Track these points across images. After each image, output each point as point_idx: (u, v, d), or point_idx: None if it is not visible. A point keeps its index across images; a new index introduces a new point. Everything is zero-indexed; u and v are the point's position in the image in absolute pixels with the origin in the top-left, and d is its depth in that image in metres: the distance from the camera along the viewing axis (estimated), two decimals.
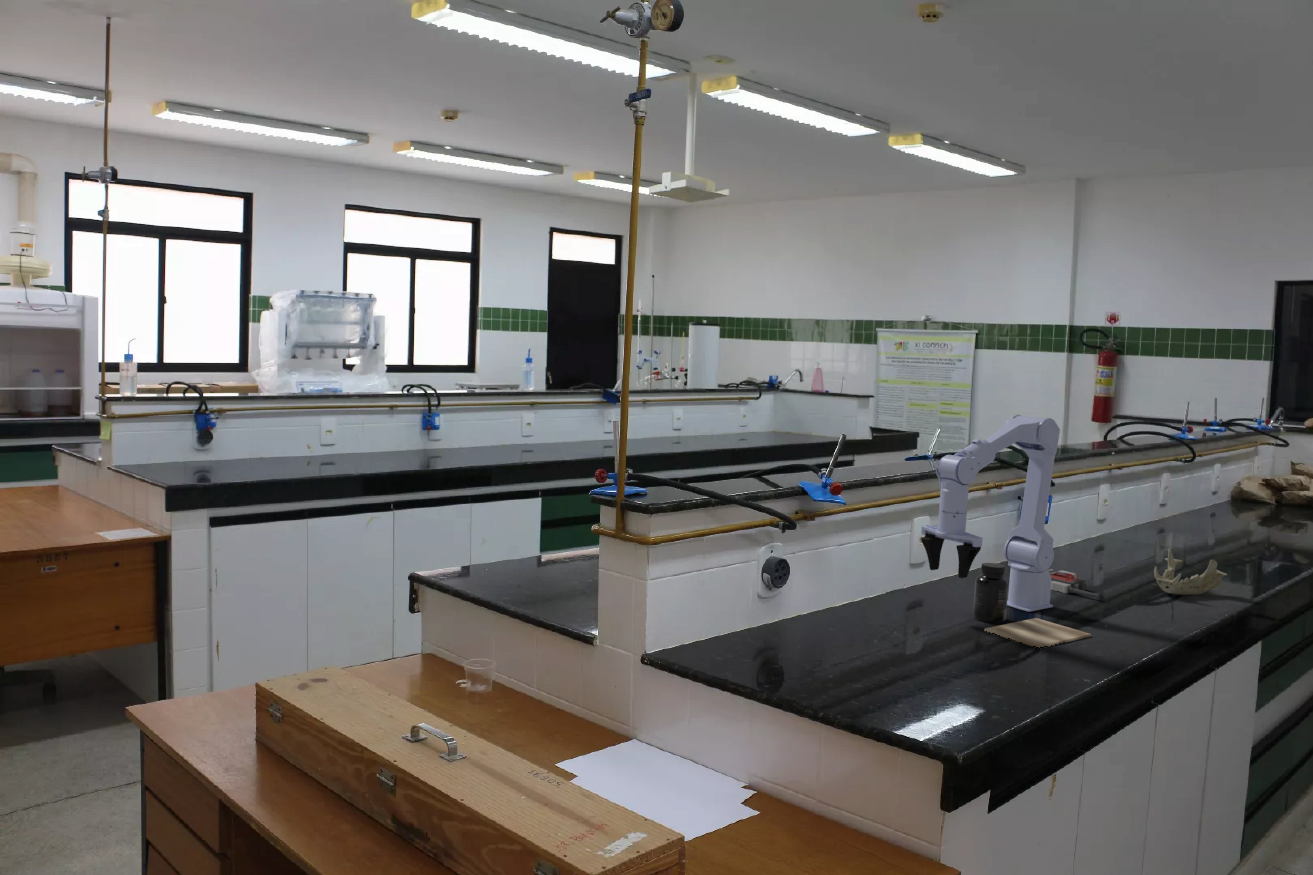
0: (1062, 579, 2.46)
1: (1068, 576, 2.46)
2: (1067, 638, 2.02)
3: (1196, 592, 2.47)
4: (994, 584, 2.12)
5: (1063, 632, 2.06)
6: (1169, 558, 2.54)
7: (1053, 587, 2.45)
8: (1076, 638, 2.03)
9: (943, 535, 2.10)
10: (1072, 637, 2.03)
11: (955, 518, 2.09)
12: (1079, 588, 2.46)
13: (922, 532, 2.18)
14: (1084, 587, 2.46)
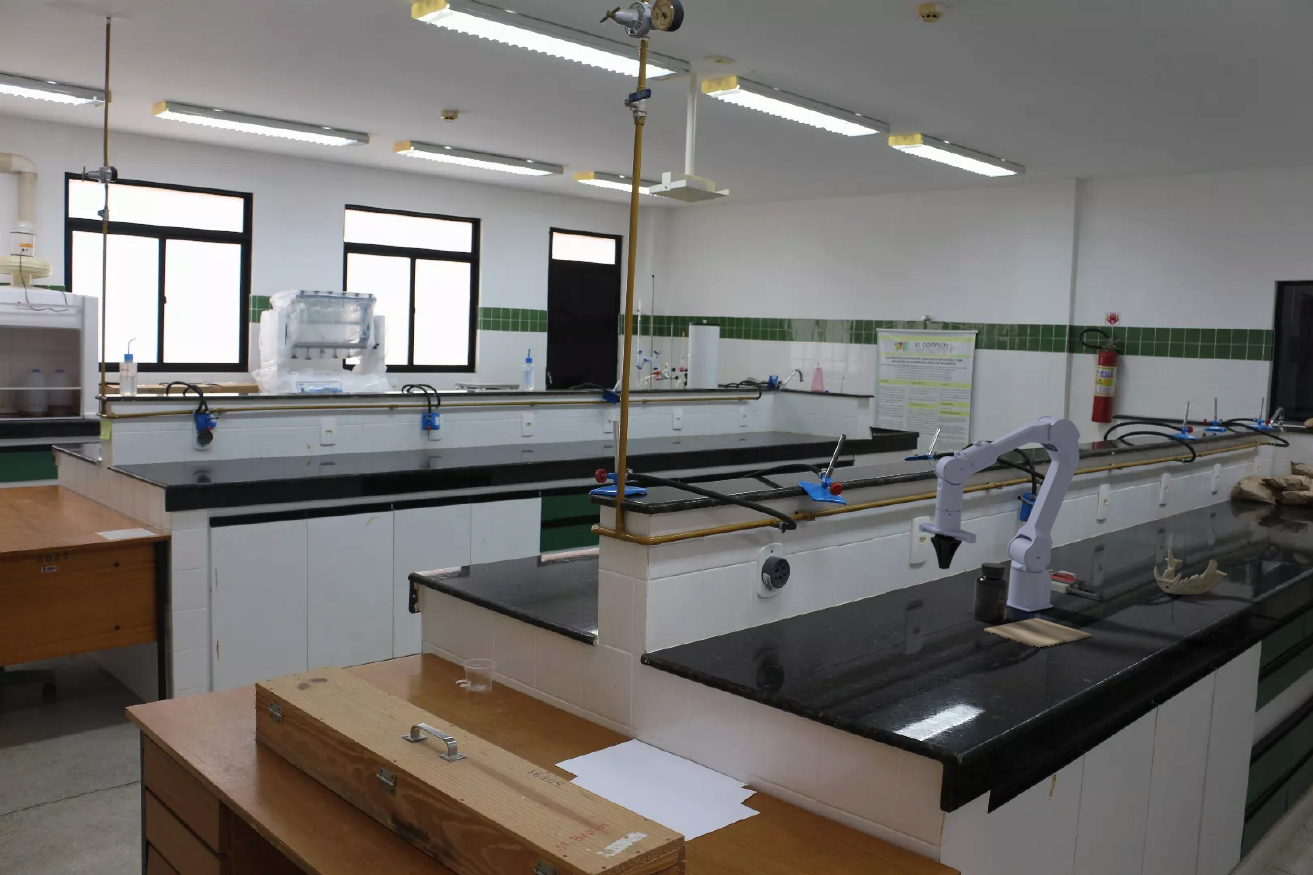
0: (1061, 579, 2.46)
1: (1068, 576, 2.46)
2: (1067, 638, 2.02)
3: (1196, 592, 2.47)
4: (994, 584, 2.12)
5: (1063, 632, 2.06)
6: (1169, 558, 2.54)
7: (1052, 588, 2.45)
8: (1076, 638, 2.03)
9: (939, 532, 2.22)
10: (1072, 637, 2.03)
11: (950, 516, 2.22)
12: (1079, 588, 2.46)
13: (919, 529, 2.30)
14: (1084, 587, 2.46)
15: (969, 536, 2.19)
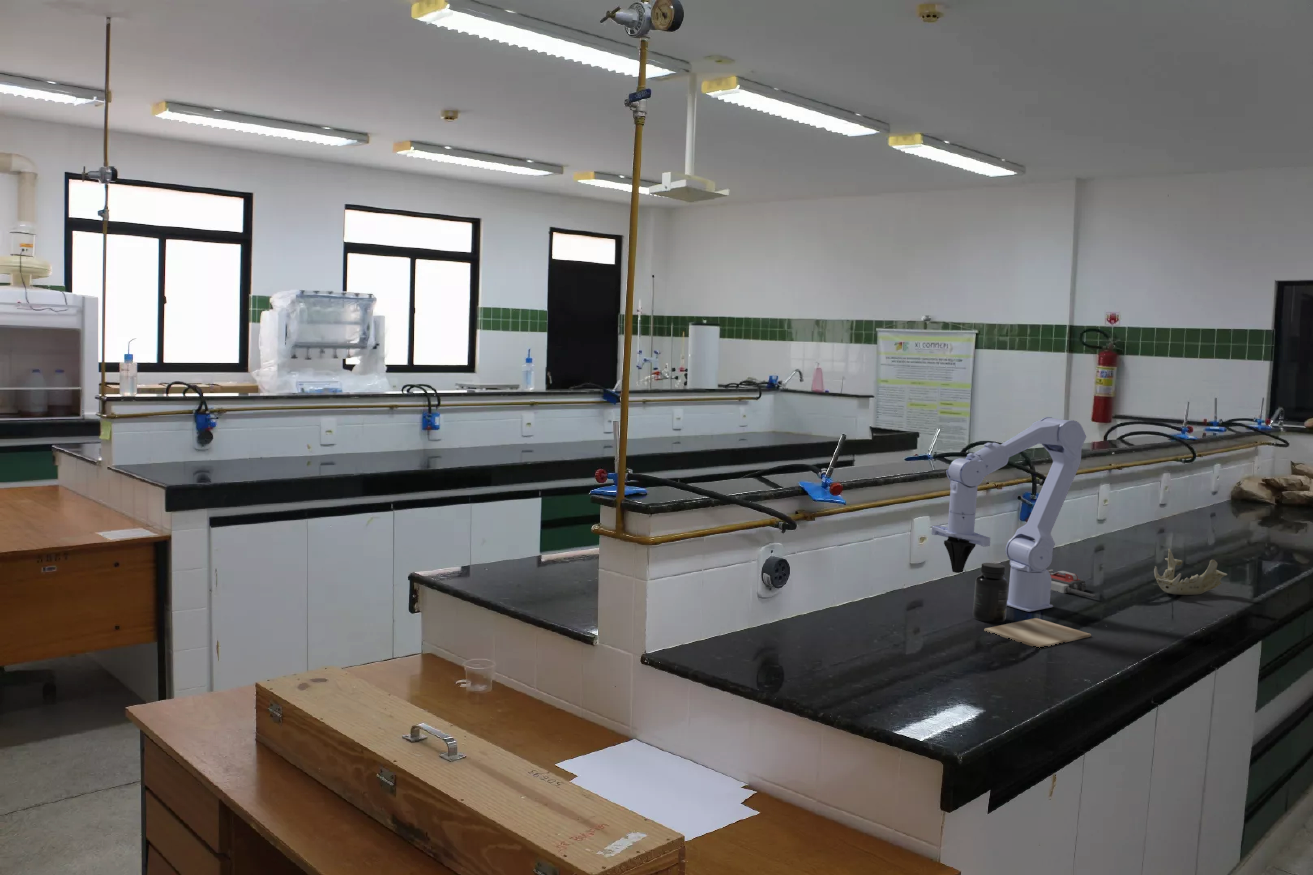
0: (1061, 579, 2.46)
1: (1067, 576, 2.46)
2: (1067, 638, 2.02)
3: (1196, 592, 2.47)
4: (994, 584, 2.12)
5: (1063, 632, 2.06)
6: (1169, 558, 2.54)
7: (1052, 587, 2.46)
8: (1076, 638, 2.03)
9: (952, 535, 2.19)
10: (1072, 637, 2.03)
11: (964, 519, 2.19)
12: (1078, 589, 2.46)
13: (932, 532, 2.27)
14: (1083, 588, 2.46)
15: (983, 539, 2.16)
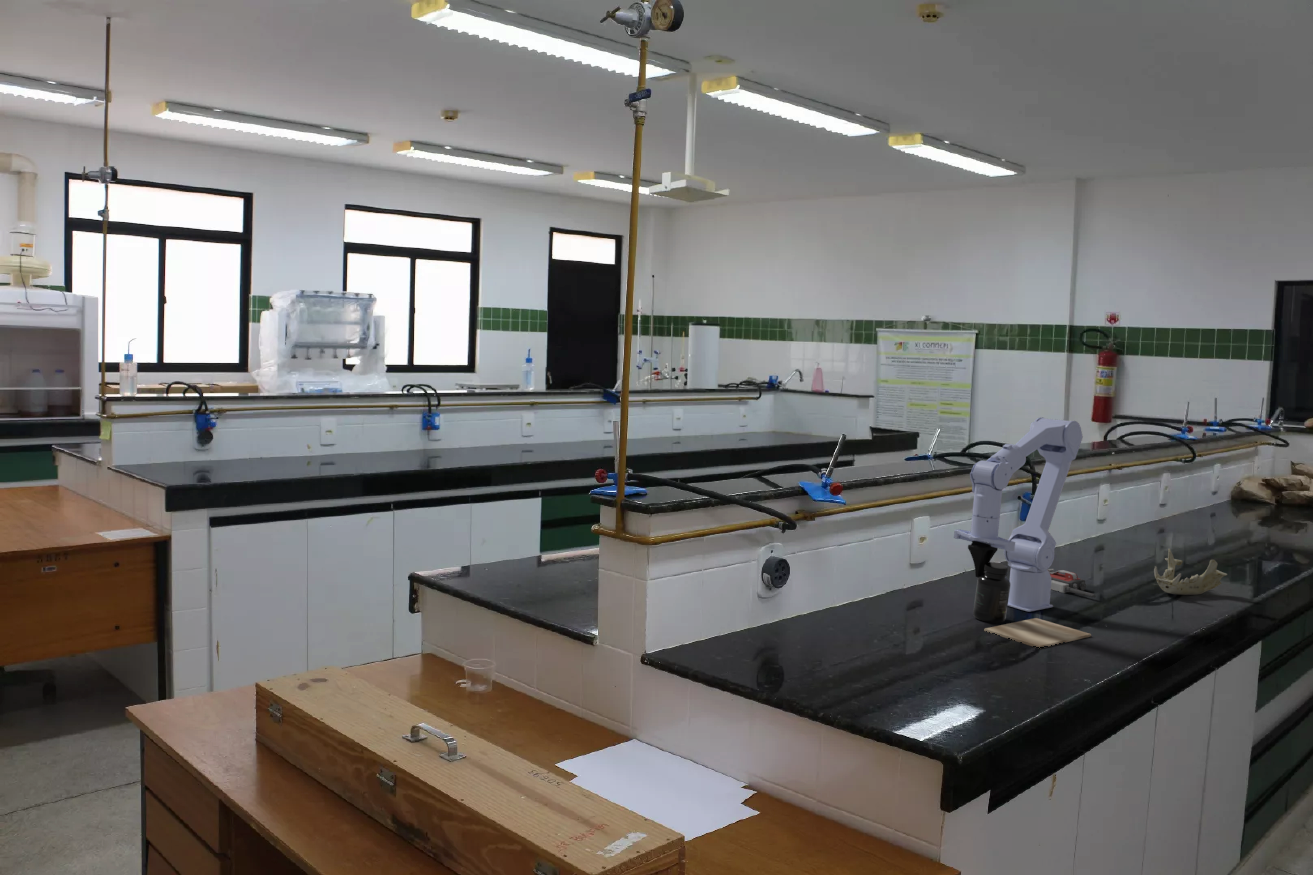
0: (1061, 579, 2.47)
1: (1067, 576, 2.47)
2: (1067, 638, 2.02)
3: (1196, 592, 2.47)
4: (996, 585, 2.11)
5: (1063, 632, 2.06)
6: (1169, 558, 2.54)
7: (1051, 587, 2.46)
8: (1076, 638, 2.03)
9: (976, 539, 2.14)
10: (1072, 637, 2.03)
11: (988, 522, 2.13)
12: (1078, 588, 2.46)
13: (955, 536, 2.22)
14: (1083, 587, 2.46)
15: (1008, 544, 2.10)
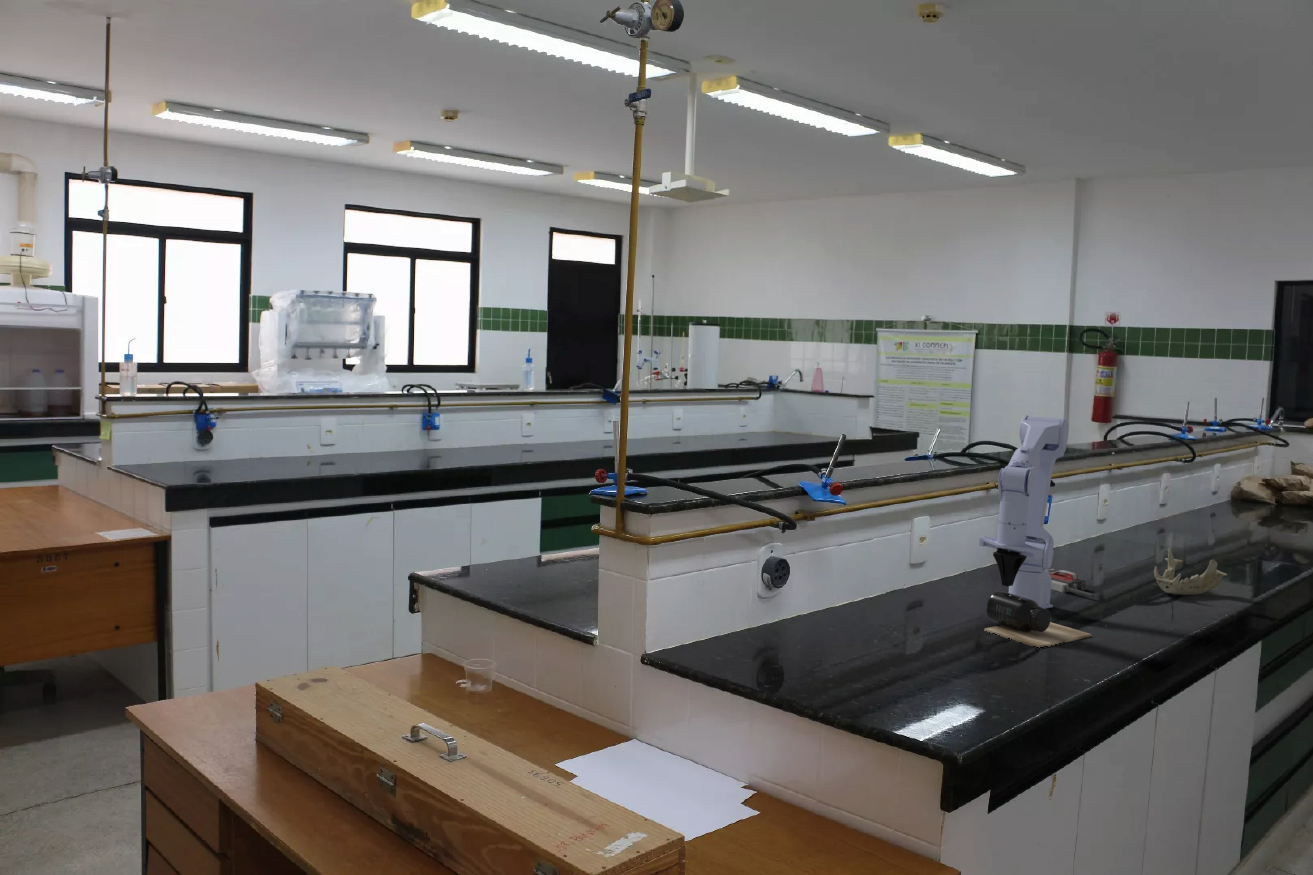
0: (1061, 578, 2.47)
1: (1067, 576, 2.47)
2: (1067, 638, 2.02)
3: (1196, 592, 2.47)
4: (1026, 631, 2.05)
5: (1063, 632, 2.06)
6: (1169, 558, 2.54)
7: (1051, 586, 2.46)
8: (1076, 638, 2.03)
9: (1003, 547, 2.08)
10: (1072, 637, 2.03)
11: (1015, 530, 2.08)
12: (1078, 588, 2.46)
13: (980, 543, 2.16)
14: (1083, 587, 2.46)
15: (1036, 551, 2.05)
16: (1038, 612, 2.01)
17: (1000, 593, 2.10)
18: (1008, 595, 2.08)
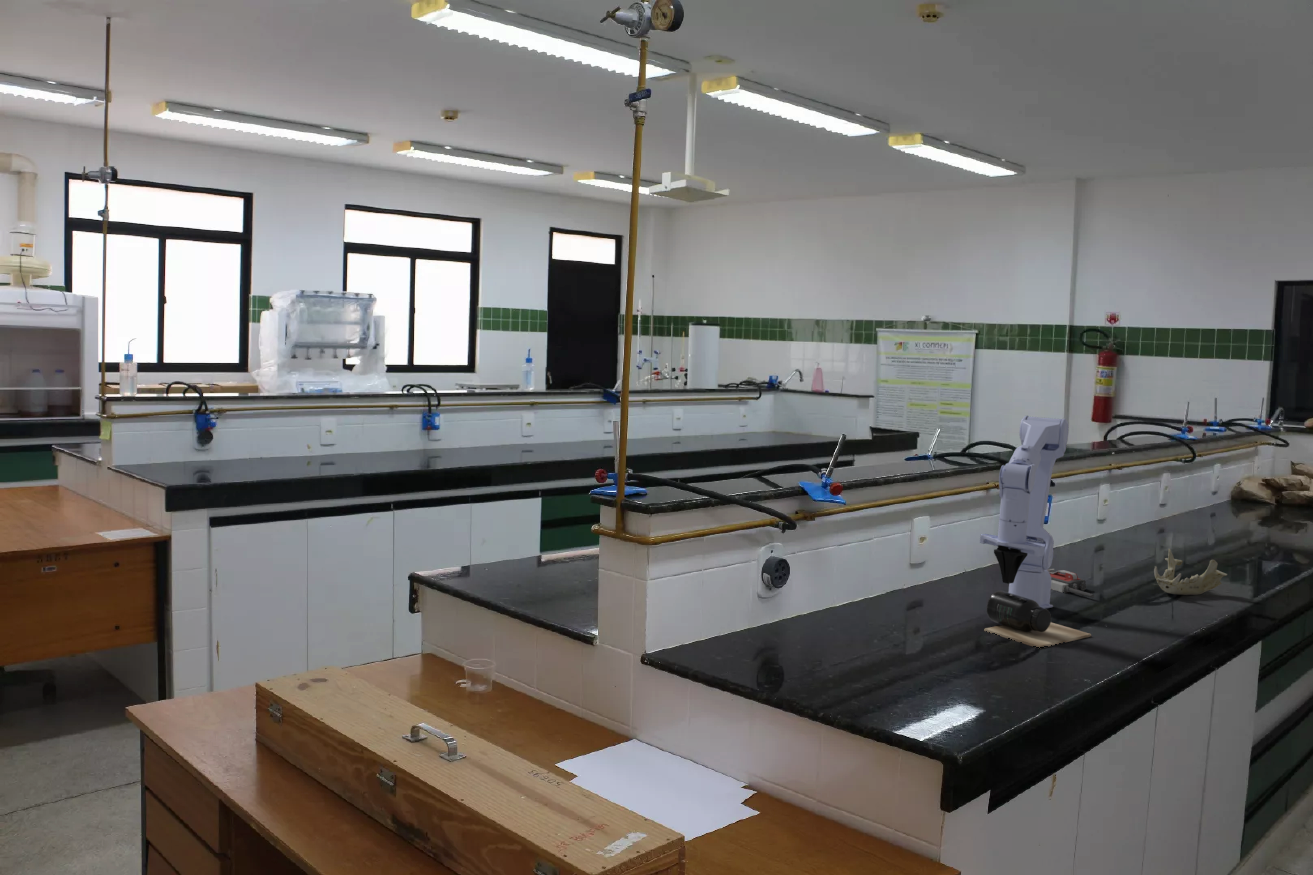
0: (1061, 579, 2.47)
1: (1067, 576, 2.47)
2: (1067, 638, 2.02)
3: (1196, 592, 2.47)
4: (1026, 631, 2.05)
5: (1063, 632, 2.06)
6: (1169, 558, 2.54)
7: (1051, 586, 2.46)
8: (1076, 638, 2.03)
9: (1004, 544, 2.08)
10: (1072, 637, 2.03)
11: (1016, 527, 2.08)
12: (1078, 588, 2.46)
13: (981, 541, 2.16)
14: (1083, 587, 2.46)
15: (1037, 549, 2.05)
16: (1039, 612, 2.01)
17: (1001, 592, 2.10)
18: (1009, 595, 2.08)
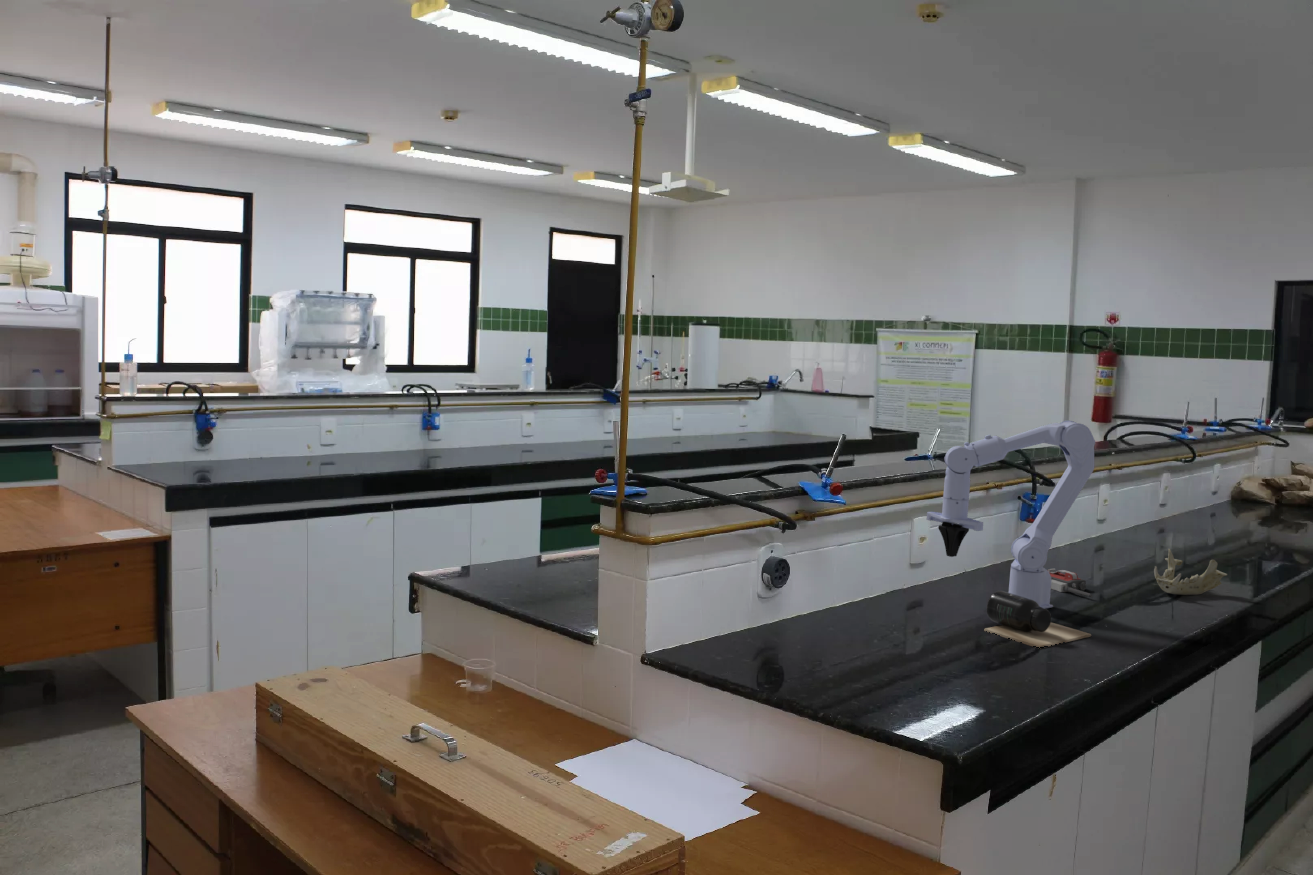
0: (1060, 578, 2.47)
1: (1067, 575, 2.47)
2: (1067, 638, 2.02)
3: (1196, 592, 2.47)
4: (1026, 631, 2.05)
5: (1063, 632, 2.06)
6: (1169, 558, 2.54)
7: None
8: (1076, 638, 2.03)
9: (947, 520, 2.26)
10: (1072, 637, 2.03)
11: (958, 504, 2.26)
12: (1078, 588, 2.46)
13: (927, 518, 2.34)
14: (1083, 587, 2.46)
15: (976, 524, 2.23)
16: (1039, 612, 2.01)
17: (1001, 592, 2.10)
18: (1009, 595, 2.08)
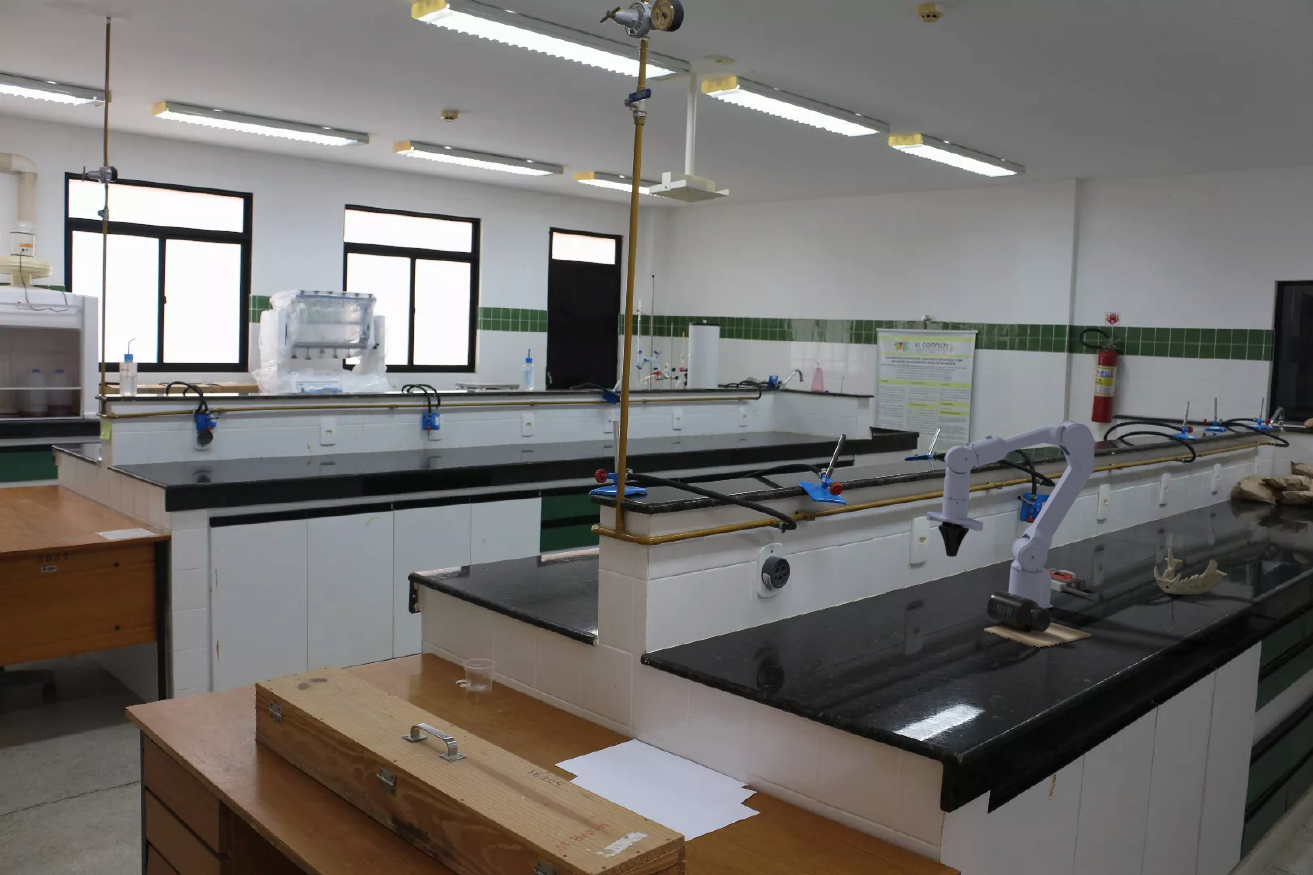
0: (1060, 578, 2.47)
1: (1066, 575, 2.47)
2: (1067, 638, 2.02)
3: (1196, 592, 2.47)
4: (1026, 631, 2.05)
5: (1063, 632, 2.06)
6: (1169, 558, 2.54)
7: None
8: (1076, 638, 2.03)
9: (947, 520, 2.26)
10: (1072, 637, 2.03)
11: (958, 504, 2.26)
12: (1077, 588, 2.46)
13: (927, 518, 2.34)
14: (1083, 587, 2.46)
15: (976, 524, 2.23)
16: (1039, 612, 2.01)
17: (1001, 592, 2.10)
18: (1009, 595, 2.08)
